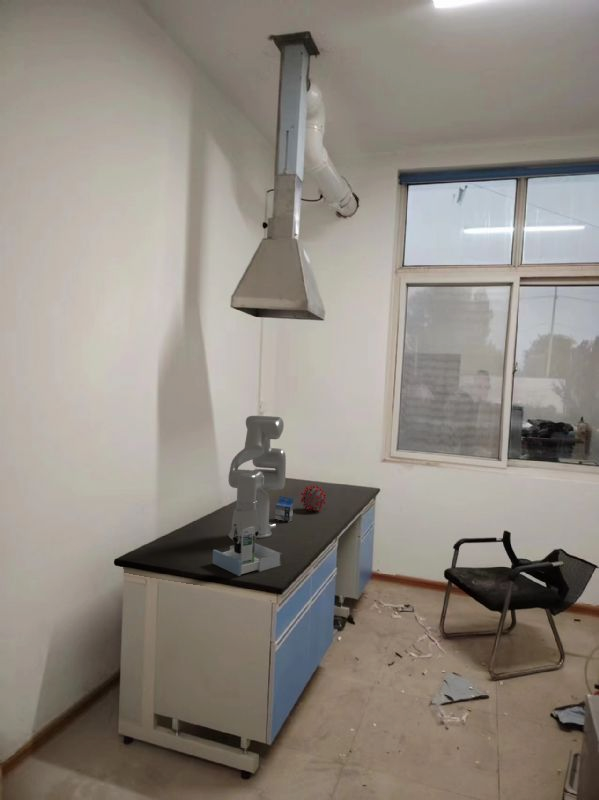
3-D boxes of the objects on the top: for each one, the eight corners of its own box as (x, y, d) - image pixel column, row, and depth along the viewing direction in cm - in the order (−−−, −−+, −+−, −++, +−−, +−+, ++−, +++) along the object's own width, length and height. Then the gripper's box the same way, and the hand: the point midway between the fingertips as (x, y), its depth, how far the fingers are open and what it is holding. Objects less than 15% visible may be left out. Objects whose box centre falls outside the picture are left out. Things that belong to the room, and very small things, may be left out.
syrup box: (241, 565, 196) (242, 528, 195) (233, 561, 200) (235, 524, 200) (254, 563, 199) (255, 526, 198) (246, 558, 204) (247, 522, 203)
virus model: (325, 508, 304) (327, 483, 303) (324, 515, 289) (325, 488, 288) (301, 507, 305) (302, 482, 305) (299, 513, 290) (300, 487, 290)
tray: (235, 557, 212) (235, 544, 212) (261, 569, 200) (262, 555, 200) (212, 563, 204) (213, 549, 204) (239, 576, 192) (239, 561, 192)
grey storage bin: (250, 552, 220) (250, 541, 220) (280, 565, 206) (281, 553, 206) (229, 558, 212) (229, 546, 212) (259, 571, 198) (260, 559, 198)
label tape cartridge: (274, 519, 274) (275, 497, 274) (278, 518, 277) (279, 495, 277) (289, 522, 270) (290, 499, 269) (292, 521, 273) (293, 498, 273)
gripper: (257, 500, 208) (255, 544, 208) (222, 506, 196) (220, 552, 196) (269, 504, 202) (267, 549, 203) (234, 510, 190) (232, 558, 191)
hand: (244, 550), depth 200 cm, fingers closed on syrup box, 6 cm apart
